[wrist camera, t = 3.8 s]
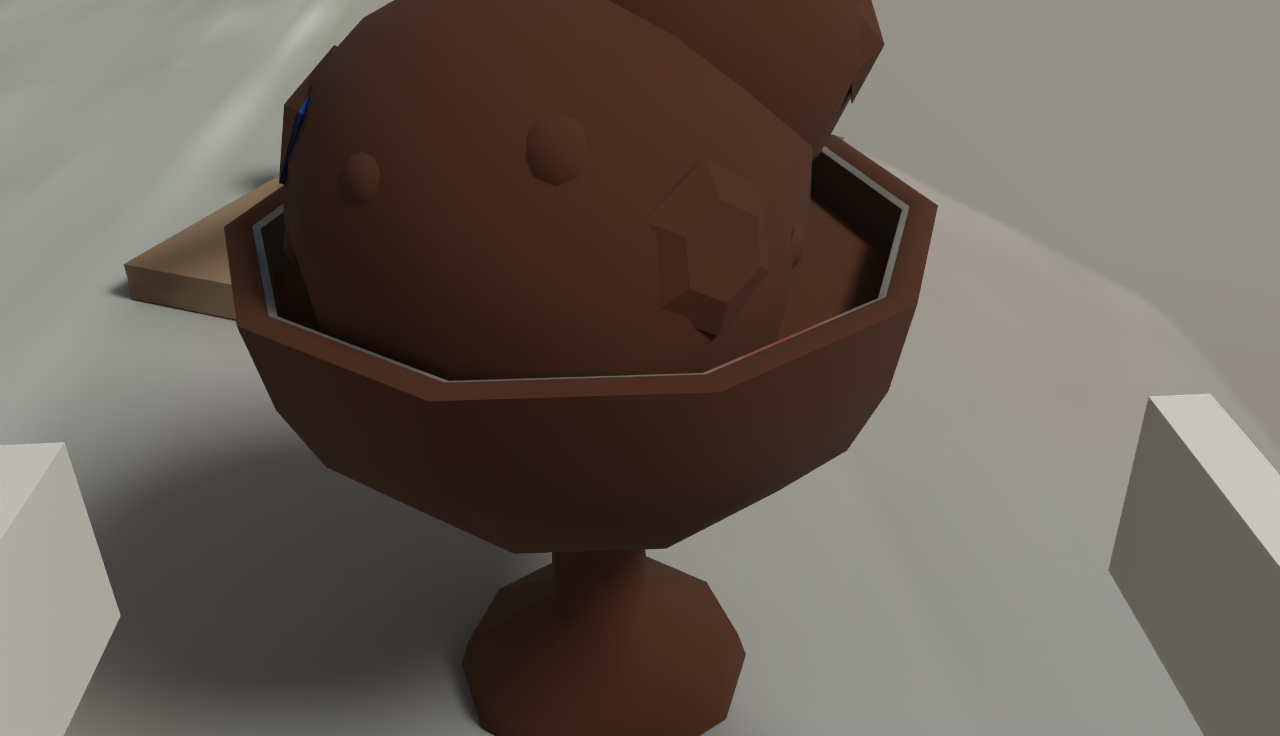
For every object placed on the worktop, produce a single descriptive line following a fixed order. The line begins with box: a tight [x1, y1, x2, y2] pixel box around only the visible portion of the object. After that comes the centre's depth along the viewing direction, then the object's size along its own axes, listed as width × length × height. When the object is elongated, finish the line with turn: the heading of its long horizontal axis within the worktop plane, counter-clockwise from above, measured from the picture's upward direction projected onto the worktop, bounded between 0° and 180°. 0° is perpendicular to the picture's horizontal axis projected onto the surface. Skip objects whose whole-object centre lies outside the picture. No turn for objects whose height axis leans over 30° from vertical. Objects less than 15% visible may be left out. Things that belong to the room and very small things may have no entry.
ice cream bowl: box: [224, 0, 938, 736], centre depth 20 cm, size 11×11×15 cm
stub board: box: [124, 136, 844, 320], centre depth 41 cm, size 18×18×4 cm
